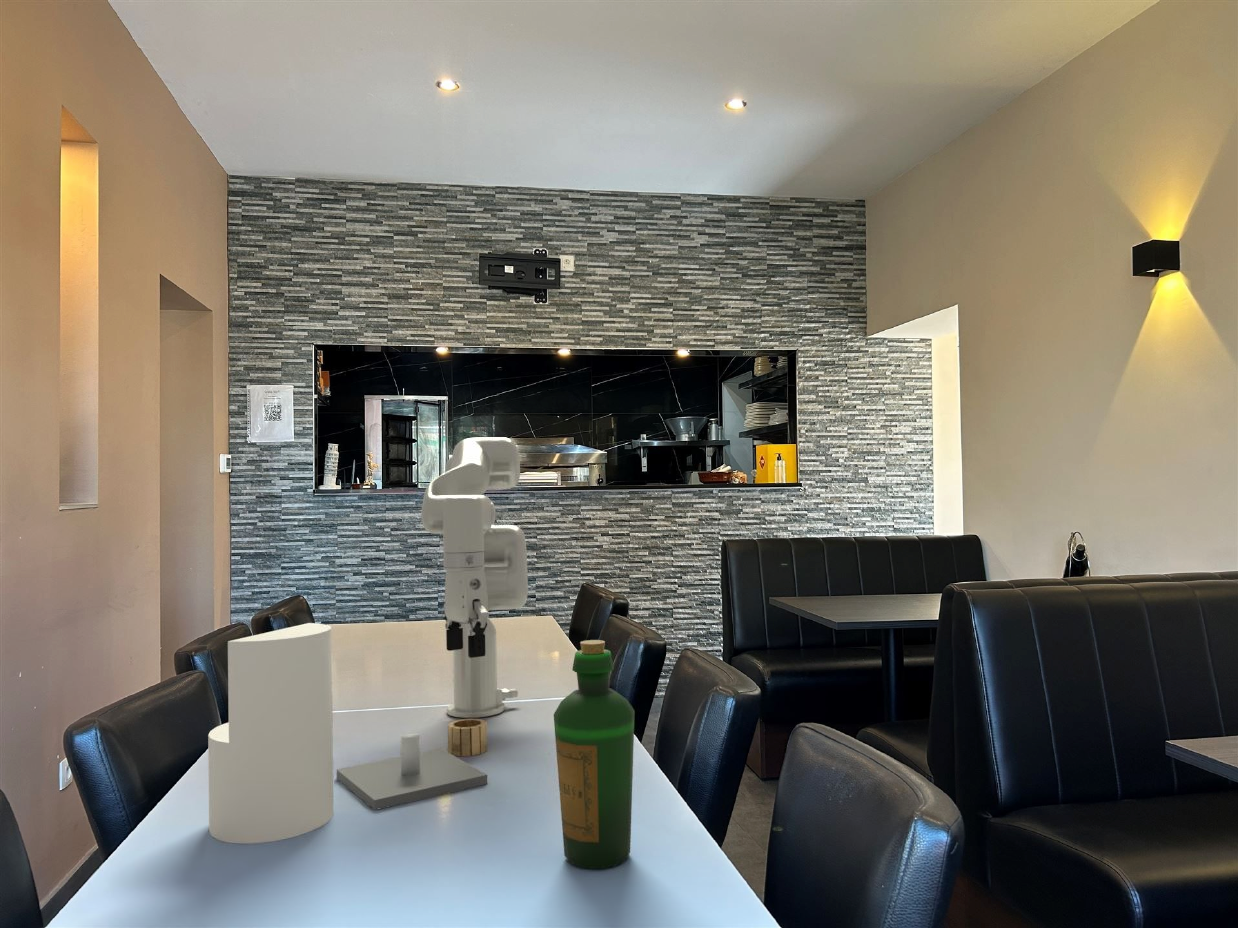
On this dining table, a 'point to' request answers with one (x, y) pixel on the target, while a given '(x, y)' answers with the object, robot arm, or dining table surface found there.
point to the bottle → (595, 763)
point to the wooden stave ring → (467, 737)
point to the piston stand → (410, 776)
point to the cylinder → (274, 738)
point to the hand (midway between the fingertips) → (465, 653)
